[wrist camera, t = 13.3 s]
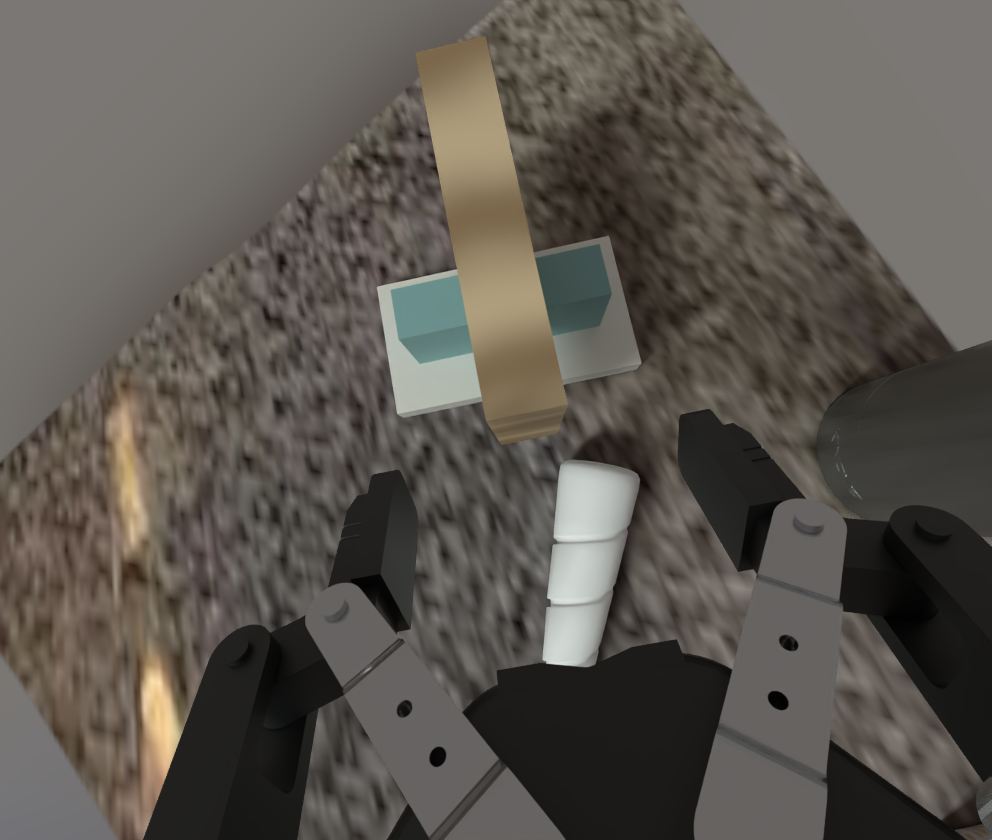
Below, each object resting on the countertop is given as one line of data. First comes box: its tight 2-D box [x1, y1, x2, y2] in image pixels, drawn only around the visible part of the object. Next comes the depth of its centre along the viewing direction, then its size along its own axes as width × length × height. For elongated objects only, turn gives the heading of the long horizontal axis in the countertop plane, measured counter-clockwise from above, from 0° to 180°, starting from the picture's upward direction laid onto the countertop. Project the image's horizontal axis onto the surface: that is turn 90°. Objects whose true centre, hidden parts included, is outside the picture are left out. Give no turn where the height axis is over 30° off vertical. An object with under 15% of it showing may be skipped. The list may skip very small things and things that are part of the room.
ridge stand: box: [377, 236, 642, 418], centre depth 30 cm, size 16×9×6 cm, turn 101°
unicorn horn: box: [543, 460, 640, 667], centre depth 27 cm, size 5×24×5 cm, turn 166°
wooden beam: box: [416, 36, 568, 445], centre depth 23 cm, size 16×3×8 cm, turn 11°
